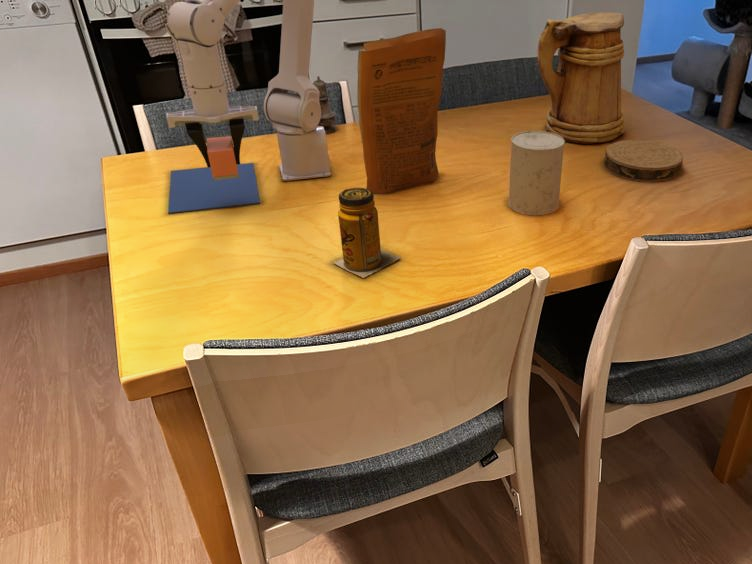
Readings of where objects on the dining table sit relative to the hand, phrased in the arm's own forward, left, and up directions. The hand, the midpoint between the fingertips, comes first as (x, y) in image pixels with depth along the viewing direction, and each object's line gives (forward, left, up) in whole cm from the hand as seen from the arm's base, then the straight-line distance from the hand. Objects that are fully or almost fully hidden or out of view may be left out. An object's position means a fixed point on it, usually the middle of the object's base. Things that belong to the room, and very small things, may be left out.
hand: (223, 163), depth 122 cm
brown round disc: (-83, +3, -8) cm, 83 cm away
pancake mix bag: (-33, -1, -8) cm, 34 cm away
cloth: (+3, -10, -8) cm, 14 cm away
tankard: (-78, -20, -8) cm, 81 cm away
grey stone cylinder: (-54, +14, -8) cm, 56 cm away
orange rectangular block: (0, 0, -1) cm, 1 cm away
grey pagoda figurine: (-22, -37, -8) cm, 44 cm away
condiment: (-20, +27, -9) cm, 34 cm away
